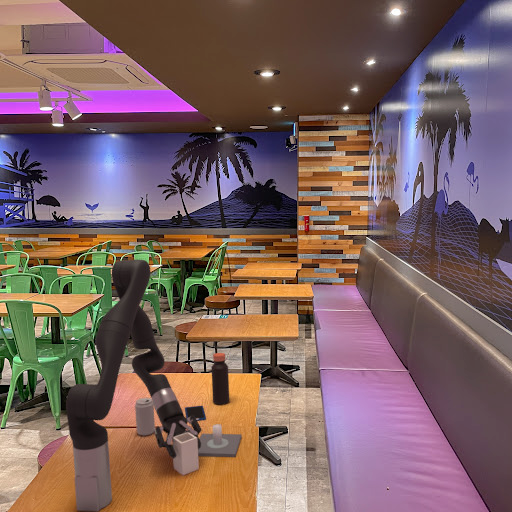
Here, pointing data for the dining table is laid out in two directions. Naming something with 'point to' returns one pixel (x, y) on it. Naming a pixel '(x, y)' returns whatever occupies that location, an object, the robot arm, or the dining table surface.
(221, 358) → the bottle
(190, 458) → the sleeve
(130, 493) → the dining table surface
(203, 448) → the post plate
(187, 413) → the cell phone
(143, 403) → the beverage can
